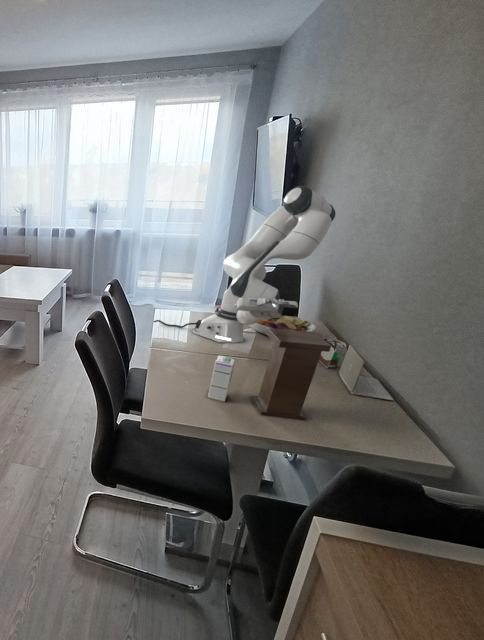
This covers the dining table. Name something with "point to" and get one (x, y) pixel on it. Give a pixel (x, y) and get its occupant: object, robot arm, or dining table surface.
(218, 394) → the syrup box
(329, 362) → the food container
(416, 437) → the dining table surface
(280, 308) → the twin chrome rods
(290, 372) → the stand
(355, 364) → the laptop
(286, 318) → the bowl
